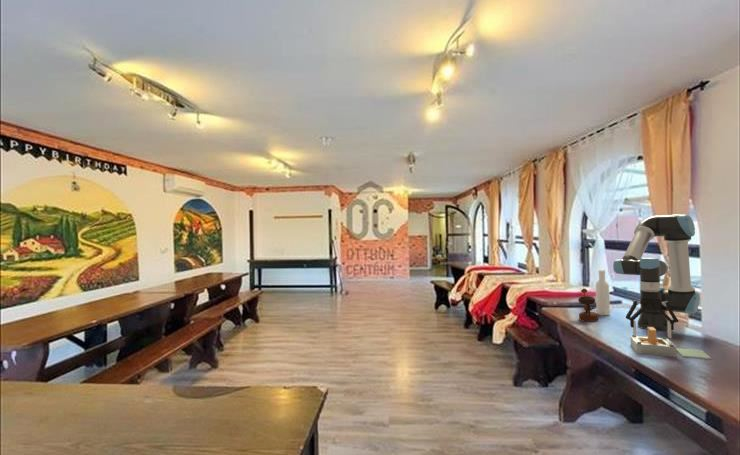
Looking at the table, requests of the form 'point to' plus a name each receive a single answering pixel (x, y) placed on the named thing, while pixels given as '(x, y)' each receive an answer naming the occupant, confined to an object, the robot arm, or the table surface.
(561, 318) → the table surface
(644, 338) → the housing
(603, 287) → the bottle
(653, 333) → the orange stamp
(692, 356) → the mat
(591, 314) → the brown wooden tiered piece
